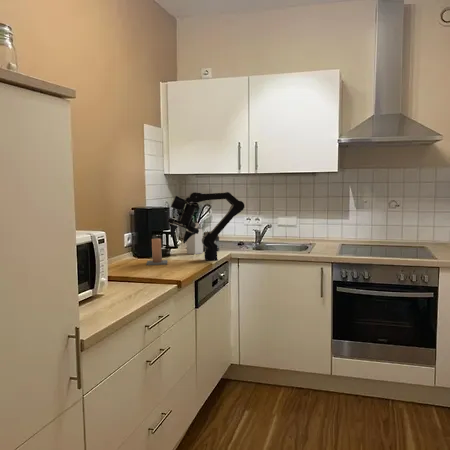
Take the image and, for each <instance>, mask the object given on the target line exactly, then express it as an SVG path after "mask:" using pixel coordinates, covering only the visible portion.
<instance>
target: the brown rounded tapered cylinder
mask: <svg viewBox="0 0 450 450" xmlns="http://www.w3.org/2000/svg"><path fill="white" fill-rule="evenodd" d="M151 252H152V255H151V256H152V259H151V260H152V261H153V262H154V263H159V262H162V260H163V258H162V257H163V256H162V238H158V237H157V238H151Z"/></svg>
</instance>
